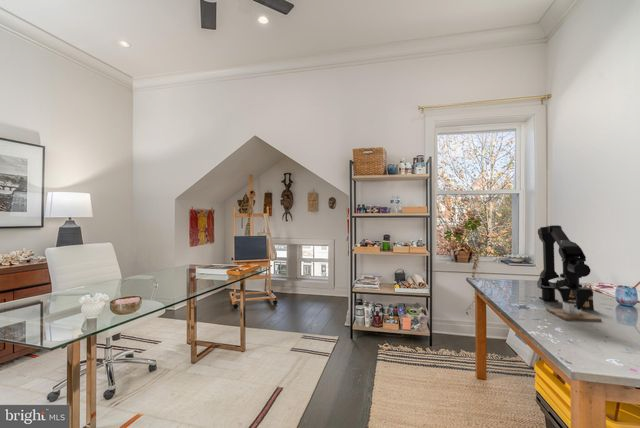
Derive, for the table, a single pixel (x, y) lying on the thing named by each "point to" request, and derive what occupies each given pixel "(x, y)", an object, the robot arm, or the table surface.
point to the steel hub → (571, 308)
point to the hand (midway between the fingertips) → (571, 306)
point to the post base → (582, 317)
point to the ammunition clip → (589, 301)
